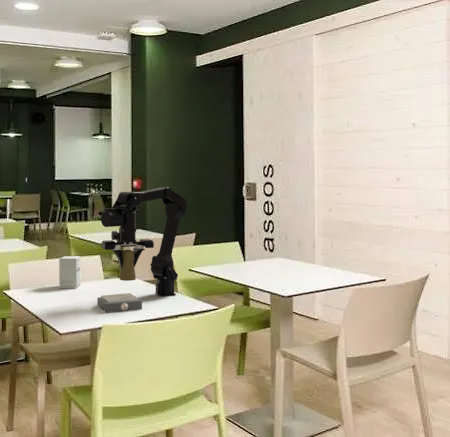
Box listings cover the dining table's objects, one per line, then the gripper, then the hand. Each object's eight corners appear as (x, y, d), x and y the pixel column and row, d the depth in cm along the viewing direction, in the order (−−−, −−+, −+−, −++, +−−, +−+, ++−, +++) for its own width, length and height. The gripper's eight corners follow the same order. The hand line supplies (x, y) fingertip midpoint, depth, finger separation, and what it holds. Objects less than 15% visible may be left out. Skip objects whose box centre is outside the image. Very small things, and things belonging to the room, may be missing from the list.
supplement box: (76, 288, 256) (76, 258, 255) (59, 288, 256) (58, 258, 255) (81, 285, 264) (80, 256, 263) (63, 285, 264) (63, 255, 263)
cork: (132, 281, 227) (132, 251, 226) (116, 280, 229) (117, 250, 228) (138, 278, 233) (138, 249, 232) (123, 277, 234) (123, 248, 234)
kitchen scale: (131, 302, 232) (131, 292, 231) (142, 309, 220) (142, 298, 220) (97, 305, 226) (97, 295, 225) (106, 313, 215) (106, 302, 214)
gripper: (145, 223, 241) (144, 263, 242) (97, 224, 233) (97, 265, 234) (154, 225, 231) (154, 267, 232) (105, 227, 223) (105, 269, 224)
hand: (127, 267), depth 231 cm, fingers closed on cork, 4 cm apart
